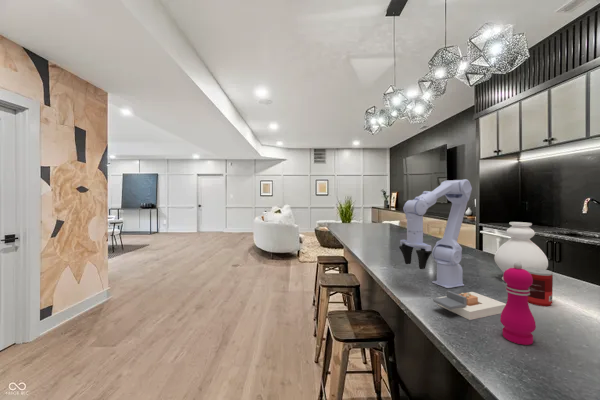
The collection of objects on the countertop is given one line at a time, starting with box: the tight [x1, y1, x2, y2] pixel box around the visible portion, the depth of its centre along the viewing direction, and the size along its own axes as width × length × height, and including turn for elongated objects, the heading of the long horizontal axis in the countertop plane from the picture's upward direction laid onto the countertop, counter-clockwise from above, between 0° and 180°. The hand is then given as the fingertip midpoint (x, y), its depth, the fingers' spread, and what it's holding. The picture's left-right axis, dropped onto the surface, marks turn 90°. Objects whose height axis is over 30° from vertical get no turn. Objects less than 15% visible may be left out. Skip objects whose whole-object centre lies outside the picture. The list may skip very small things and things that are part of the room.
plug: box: [458, 292, 478, 306], centre depth 90 cm, size 4×4×5 cm
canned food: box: [524, 268, 554, 307], centre depth 95 cm, size 8×8×11 cm
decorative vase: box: [494, 221, 549, 282], centre depth 117 cm, size 18×18×25 cm
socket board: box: [437, 291, 506, 321], centre depth 91 cm, size 16×12×2 cm
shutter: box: [432, 290, 467, 310], centre depth 88 cm, size 7×7×3 cm
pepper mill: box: [499, 262, 537, 346], centre depth 72 cm, size 7×7×20 cm
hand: (414, 266), depth 107 cm, fingers open, 7 cm apart
